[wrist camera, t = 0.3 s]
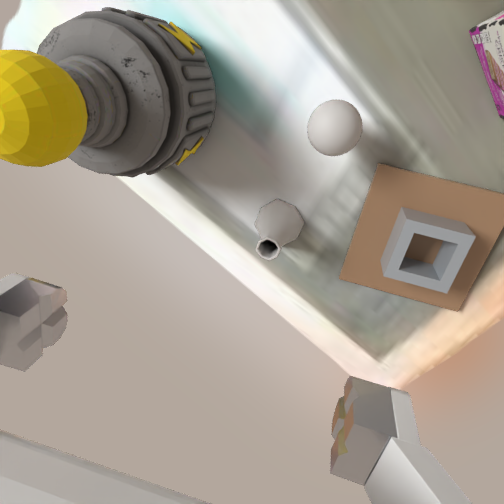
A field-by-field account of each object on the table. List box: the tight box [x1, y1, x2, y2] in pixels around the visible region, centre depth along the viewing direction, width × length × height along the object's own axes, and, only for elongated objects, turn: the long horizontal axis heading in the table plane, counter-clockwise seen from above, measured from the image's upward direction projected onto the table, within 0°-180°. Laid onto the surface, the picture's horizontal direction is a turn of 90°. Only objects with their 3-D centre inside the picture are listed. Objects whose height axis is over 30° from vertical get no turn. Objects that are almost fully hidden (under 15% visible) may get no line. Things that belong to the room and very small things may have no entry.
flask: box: [255, 199, 305, 261], centre depth 55 cm, size 7×7×10 cm
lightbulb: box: [307, 100, 362, 156], centre depth 46 cm, size 6×6×11 cm
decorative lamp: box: [0, 7, 216, 177], centre depth 42 cm, size 19×19×30 cm
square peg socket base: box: [339, 163, 504, 311], centre depth 53 cm, size 18×18×6 cm
